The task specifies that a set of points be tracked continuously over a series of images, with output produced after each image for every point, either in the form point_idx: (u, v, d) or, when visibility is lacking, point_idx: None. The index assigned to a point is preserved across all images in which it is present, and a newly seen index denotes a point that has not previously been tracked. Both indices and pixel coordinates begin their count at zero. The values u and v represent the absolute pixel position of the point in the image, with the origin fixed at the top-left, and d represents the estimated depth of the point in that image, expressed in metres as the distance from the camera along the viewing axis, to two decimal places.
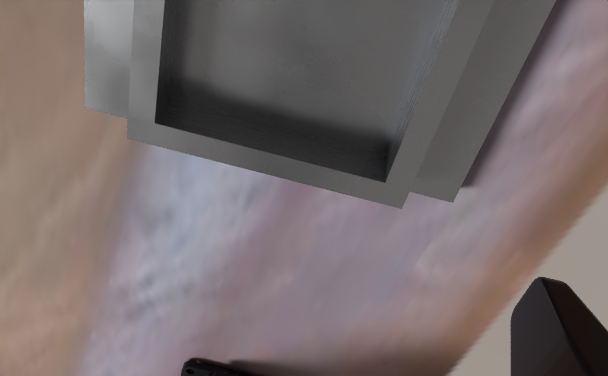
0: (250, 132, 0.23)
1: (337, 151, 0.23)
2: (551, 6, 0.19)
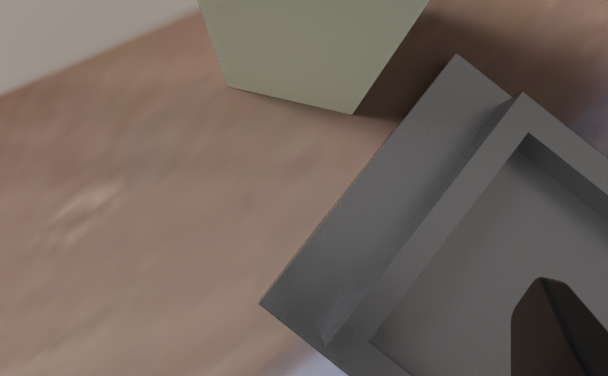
0: None
1: None
2: None
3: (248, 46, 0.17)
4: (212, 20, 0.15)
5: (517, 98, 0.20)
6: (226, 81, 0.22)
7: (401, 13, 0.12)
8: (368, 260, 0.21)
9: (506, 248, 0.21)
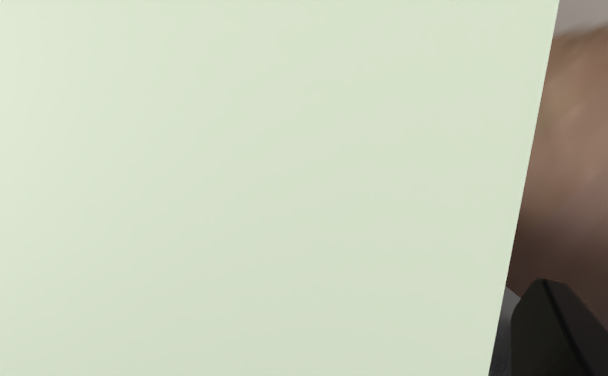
0: None
1: None
2: None
3: None
4: None
5: None
6: None
7: None
8: None
9: None
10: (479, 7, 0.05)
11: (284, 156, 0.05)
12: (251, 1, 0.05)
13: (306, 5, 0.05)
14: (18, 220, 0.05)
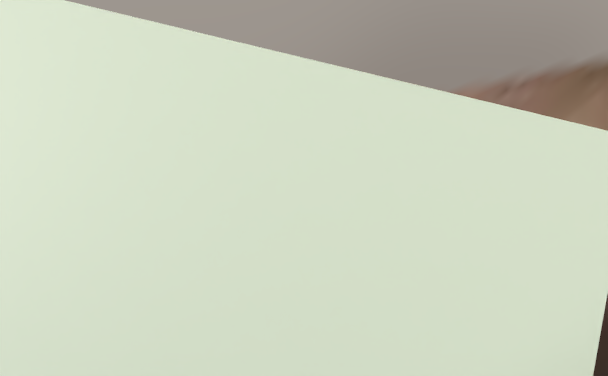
0: None
1: None
2: None
3: None
4: None
5: None
6: None
7: None
8: None
9: None
10: (518, 157, 0.04)
11: None
12: (175, 151, 0.03)
13: (258, 158, 0.03)
14: None
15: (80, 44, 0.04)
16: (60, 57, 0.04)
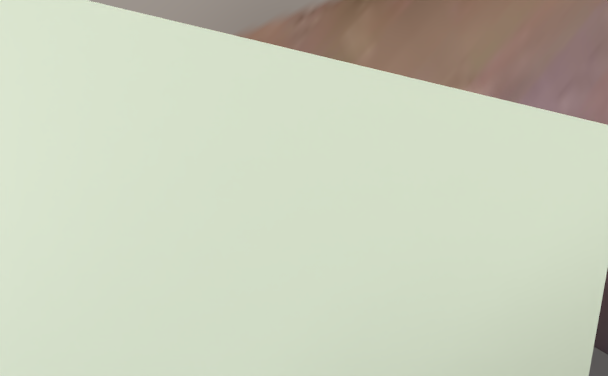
0: None
1: None
2: None
3: None
4: None
5: None
6: None
7: None
8: None
9: None
10: (513, 151, 0.04)
11: None
12: (173, 146, 0.03)
13: (255, 152, 0.03)
14: None
15: (77, 37, 0.04)
16: (57, 50, 0.04)
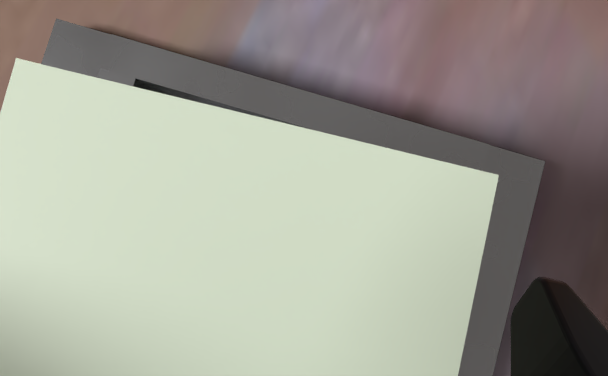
0: None
1: None
2: (519, 258, 0.18)
3: None
4: None
5: (109, 44, 0.16)
6: None
7: None
8: None
9: None
10: (425, 187, 0.06)
11: (244, 329, 0.06)
12: (215, 183, 0.06)
13: (265, 187, 0.06)
14: None
15: (157, 117, 0.06)
16: (145, 125, 0.06)
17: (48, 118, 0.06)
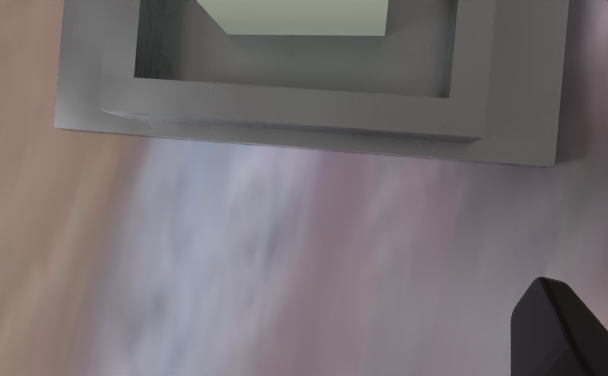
0: None
1: None
2: None
3: None
4: None
5: None
6: (222, 27, 0.18)
7: None
8: None
9: None
10: None
11: None
12: None
13: None
14: None
15: None
16: None
17: None
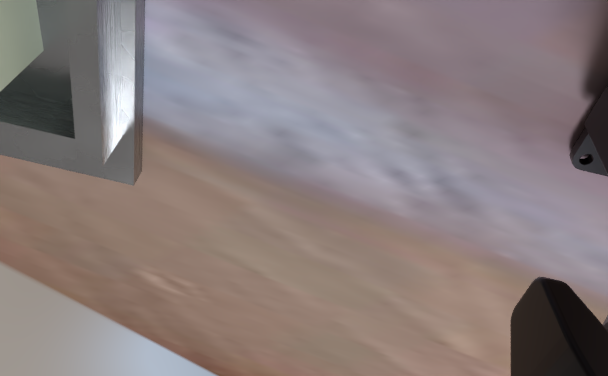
0: None
1: None
2: None
3: None
4: None
5: None
6: (33, 59, 0.21)
7: None
8: None
9: None
10: None
11: None
12: None
13: None
14: None
15: None
16: None
17: None
